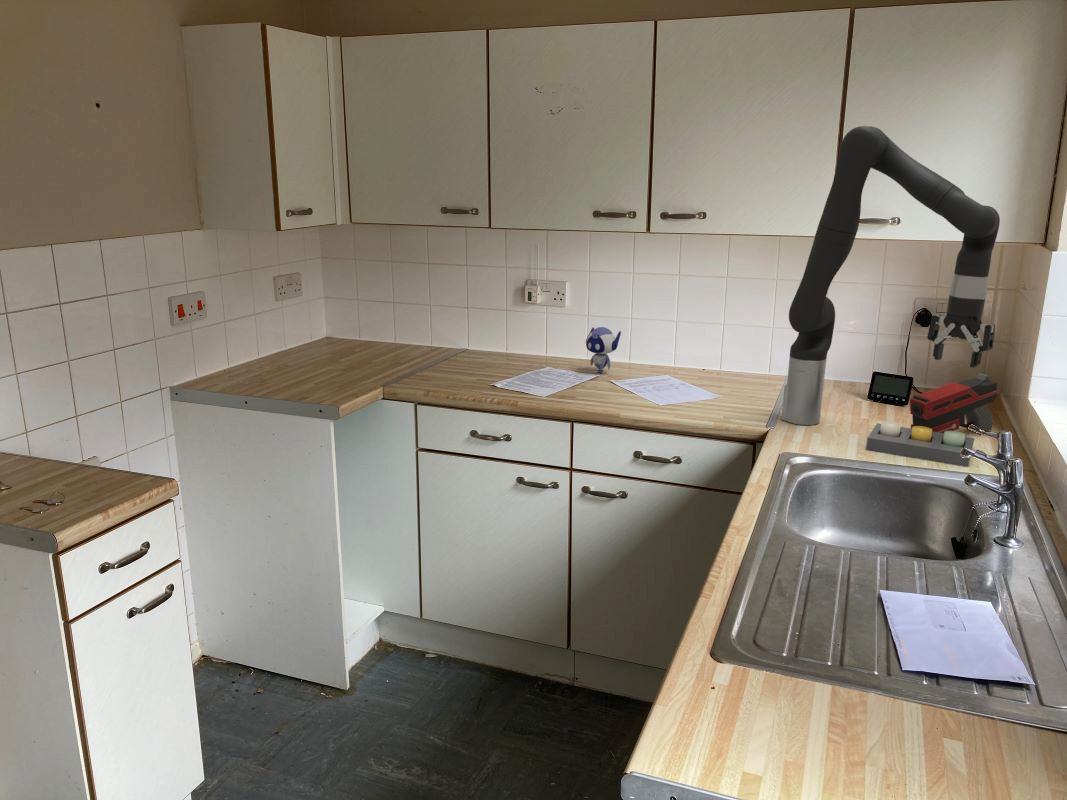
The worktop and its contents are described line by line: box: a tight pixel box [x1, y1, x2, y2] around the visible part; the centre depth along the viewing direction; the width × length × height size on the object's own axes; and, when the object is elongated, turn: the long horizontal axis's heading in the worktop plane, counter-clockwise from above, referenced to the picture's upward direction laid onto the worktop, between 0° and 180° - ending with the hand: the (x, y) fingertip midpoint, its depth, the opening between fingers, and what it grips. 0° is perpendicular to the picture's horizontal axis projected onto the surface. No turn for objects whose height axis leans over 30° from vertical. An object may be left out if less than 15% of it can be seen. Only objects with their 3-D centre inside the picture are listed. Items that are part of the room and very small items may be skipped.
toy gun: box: [909, 372, 1000, 433], centre depth 215 cm, size 5×24×15 cm, turn 110°
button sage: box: [943, 430, 966, 447], centre depth 199 cm, size 4×4×4 cm
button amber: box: [911, 426, 932, 442], centre depth 203 cm, size 4×4×4 cm
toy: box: [585, 326, 622, 374], centre depth 271 cm, size 11×10×15 cm
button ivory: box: [880, 420, 902, 437], centre depth 206 cm, size 4×4×4 cm
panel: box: [865, 423, 975, 467], centre depth 203 cm, size 22×14×3 cm, turn 60°
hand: (955, 363), depth 199 cm, fingers open, 8 cm apart
